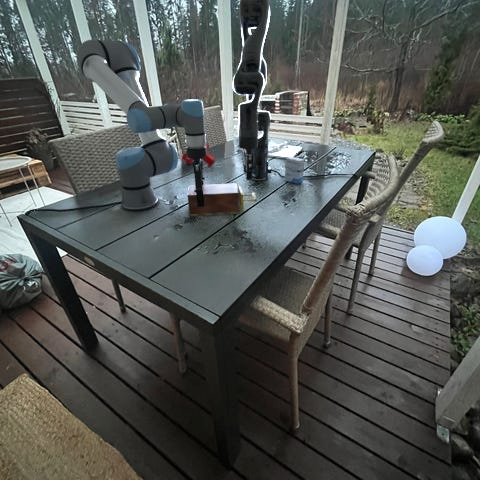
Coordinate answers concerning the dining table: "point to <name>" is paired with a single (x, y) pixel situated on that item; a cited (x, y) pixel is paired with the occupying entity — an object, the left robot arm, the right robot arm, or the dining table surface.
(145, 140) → the left robot arm
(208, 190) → the cabinet
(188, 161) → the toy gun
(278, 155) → the relief map
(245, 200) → the drawer
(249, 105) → the right robot arm
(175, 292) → the dining table surface
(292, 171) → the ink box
